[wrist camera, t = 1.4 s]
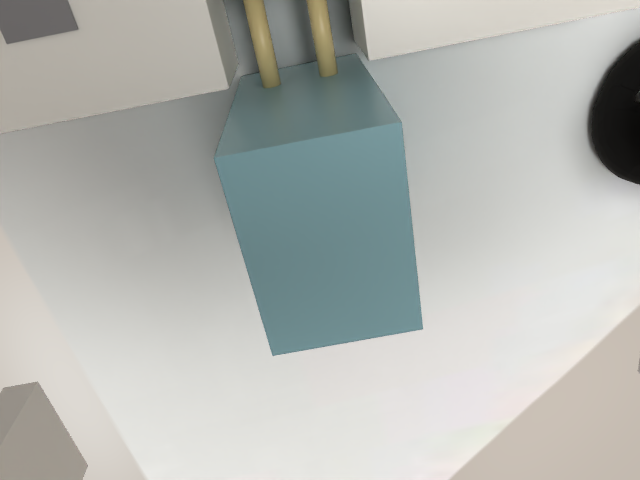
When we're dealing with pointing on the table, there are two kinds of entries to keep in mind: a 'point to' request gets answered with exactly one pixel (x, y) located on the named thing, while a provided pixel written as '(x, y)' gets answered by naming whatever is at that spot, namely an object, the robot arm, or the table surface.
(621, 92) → the webcam
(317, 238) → the charger
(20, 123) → the power strip
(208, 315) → the table surface
